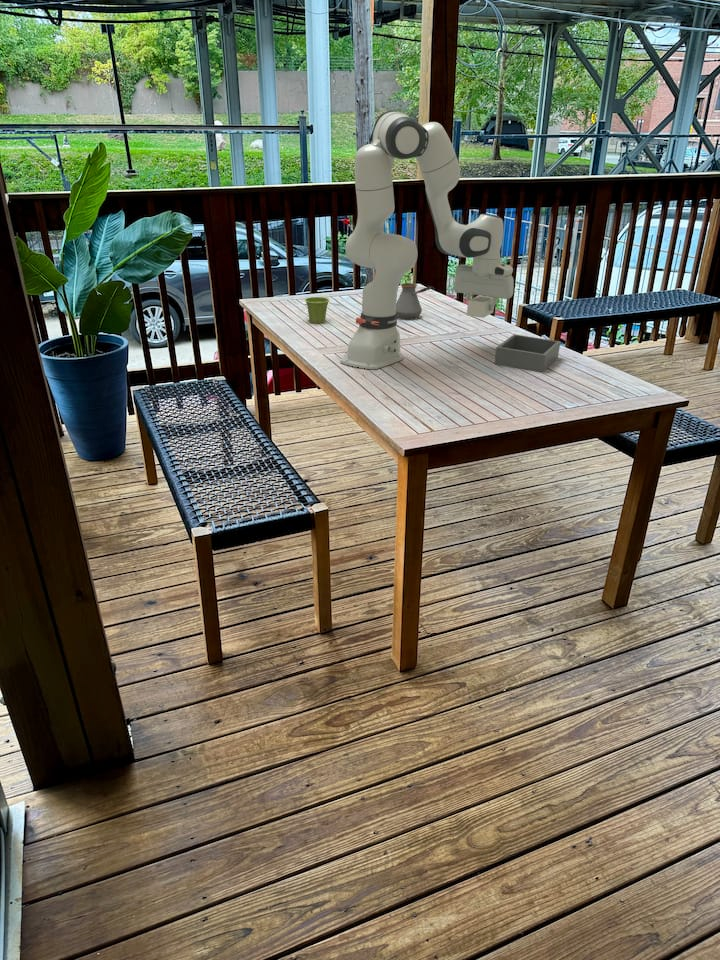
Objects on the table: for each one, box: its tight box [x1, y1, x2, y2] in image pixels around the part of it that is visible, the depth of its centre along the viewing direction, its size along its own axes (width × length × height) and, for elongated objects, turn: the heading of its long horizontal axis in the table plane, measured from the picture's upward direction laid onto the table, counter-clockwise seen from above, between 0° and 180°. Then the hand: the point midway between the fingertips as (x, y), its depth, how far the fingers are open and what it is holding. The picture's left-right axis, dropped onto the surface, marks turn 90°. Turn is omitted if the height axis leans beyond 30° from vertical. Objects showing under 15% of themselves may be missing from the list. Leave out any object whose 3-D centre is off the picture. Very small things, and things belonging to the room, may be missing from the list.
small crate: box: [466, 295, 494, 319], centre depth 222 cm, size 10×6×5 cm, turn 151°
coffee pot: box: [396, 282, 434, 320], centre depth 259 cm, size 21×12×15 cm, turn 31°
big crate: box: [494, 334, 561, 373], centre depth 215 cm, size 18×16×6 cm
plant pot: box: [304, 296, 330, 324], centre depth 255 cm, size 9×9×9 cm
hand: (480, 308), depth 222 cm, fingers closed on small crate, 6 cm apart
